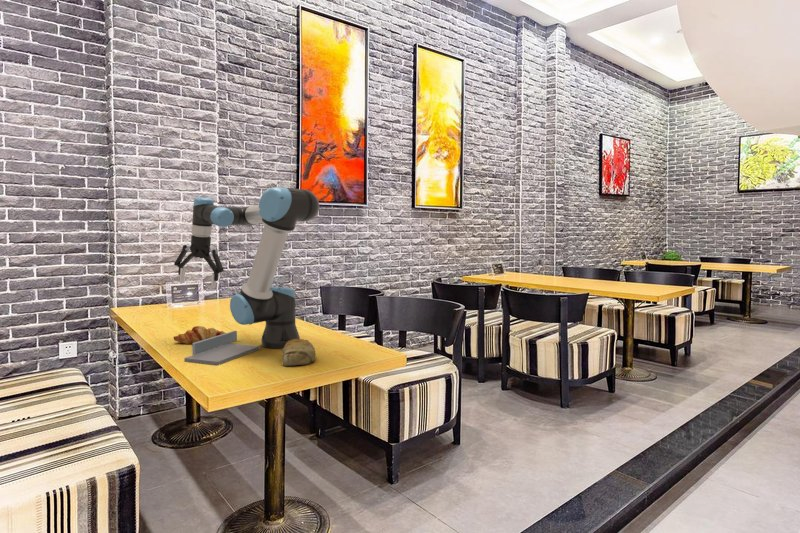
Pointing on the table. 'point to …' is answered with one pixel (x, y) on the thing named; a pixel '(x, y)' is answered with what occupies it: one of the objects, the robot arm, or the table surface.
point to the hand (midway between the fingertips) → (197, 285)
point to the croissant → (197, 335)
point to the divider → (214, 342)
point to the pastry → (298, 352)
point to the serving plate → (222, 354)
